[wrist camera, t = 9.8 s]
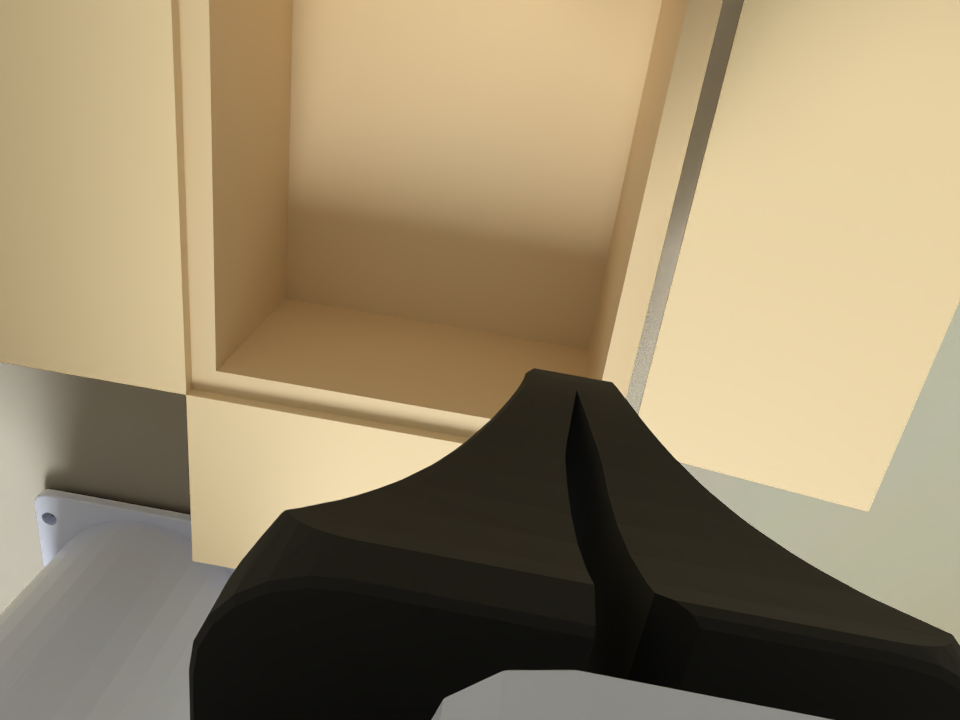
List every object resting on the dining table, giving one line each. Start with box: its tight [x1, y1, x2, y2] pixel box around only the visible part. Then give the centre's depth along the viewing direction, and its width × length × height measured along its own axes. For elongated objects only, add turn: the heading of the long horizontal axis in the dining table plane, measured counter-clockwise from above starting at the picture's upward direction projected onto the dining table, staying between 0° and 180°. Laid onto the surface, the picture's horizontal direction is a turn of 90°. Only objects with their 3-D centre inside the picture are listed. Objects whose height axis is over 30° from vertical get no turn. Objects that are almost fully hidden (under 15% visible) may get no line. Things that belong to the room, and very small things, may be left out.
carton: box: [0, 0, 723, 569], centre depth 17 cm, size 22×15×8 cm
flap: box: [638, 0, 960, 512], centre depth 15 cm, size 10×5×1 cm, turn 172°
